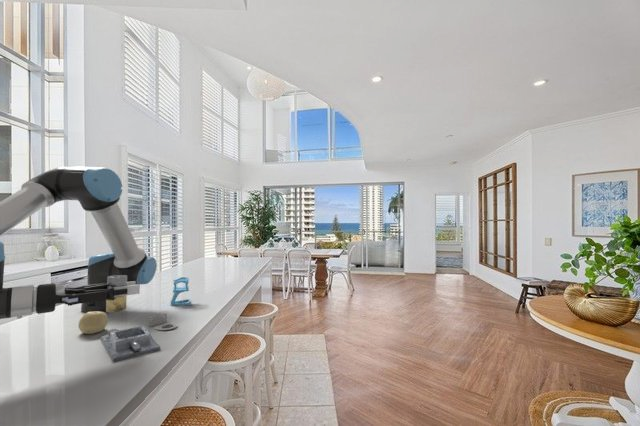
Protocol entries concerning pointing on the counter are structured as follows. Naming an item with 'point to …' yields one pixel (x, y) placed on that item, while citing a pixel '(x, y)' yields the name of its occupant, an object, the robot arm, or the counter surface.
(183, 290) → the chair
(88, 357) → the counter surface
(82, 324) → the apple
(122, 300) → the gold and grey cylinder
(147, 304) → the counter surface
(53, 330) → the counter surface
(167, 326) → the bracket
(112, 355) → the coupling board
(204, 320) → the counter surface
